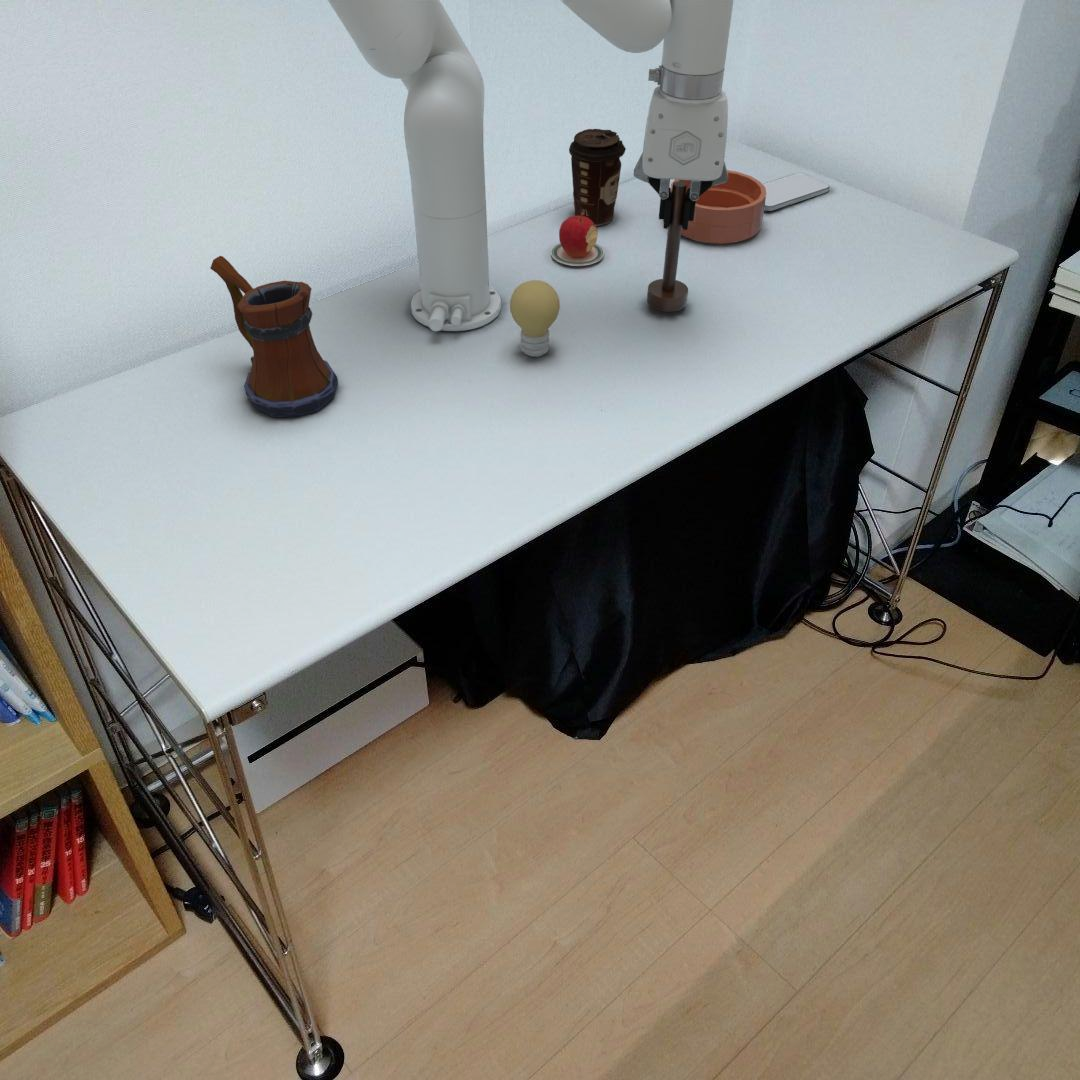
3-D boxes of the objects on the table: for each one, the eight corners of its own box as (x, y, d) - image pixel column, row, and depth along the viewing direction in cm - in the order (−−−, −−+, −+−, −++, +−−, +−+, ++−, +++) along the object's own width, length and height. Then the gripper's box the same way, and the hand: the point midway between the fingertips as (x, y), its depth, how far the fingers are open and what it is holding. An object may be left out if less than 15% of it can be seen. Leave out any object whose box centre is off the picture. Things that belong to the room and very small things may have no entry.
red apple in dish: (602, 243, 160) (603, 202, 155) (605, 268, 154) (607, 227, 149) (550, 243, 160) (550, 203, 155) (551, 268, 154) (552, 227, 149)
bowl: (763, 248, 158) (769, 211, 154) (668, 244, 159) (671, 207, 155) (757, 206, 169) (762, 170, 165) (667, 203, 170) (670, 167, 166)
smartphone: (832, 186, 173) (768, 207, 166) (831, 193, 173) (767, 214, 167) (800, 171, 177) (736, 191, 170) (798, 178, 178) (735, 198, 171)
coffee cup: (622, 207, 169) (627, 127, 160) (620, 230, 163) (625, 149, 154) (569, 205, 170) (571, 125, 161) (565, 228, 163) (567, 146, 155)
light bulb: (517, 368, 134) (516, 299, 128) (505, 342, 139) (504, 275, 132) (565, 361, 136) (566, 292, 129) (551, 335, 140) (552, 268, 133)
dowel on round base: (687, 312, 143) (702, 194, 131) (646, 310, 143) (657, 192, 132) (686, 292, 147) (700, 176, 135) (646, 290, 147) (658, 173, 136)
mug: (201, 372, 134) (172, 267, 124) (276, 338, 140) (255, 235, 130) (281, 432, 124) (257, 323, 114) (357, 393, 130) (341, 286, 120)
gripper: (624, 89, 122) (614, 234, 135) (759, 95, 122) (736, 241, 134) (626, 67, 128) (616, 209, 140) (755, 73, 127) (733, 215, 140)
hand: (675, 223), depth 137 cm, fingers closed on dowel on round base
